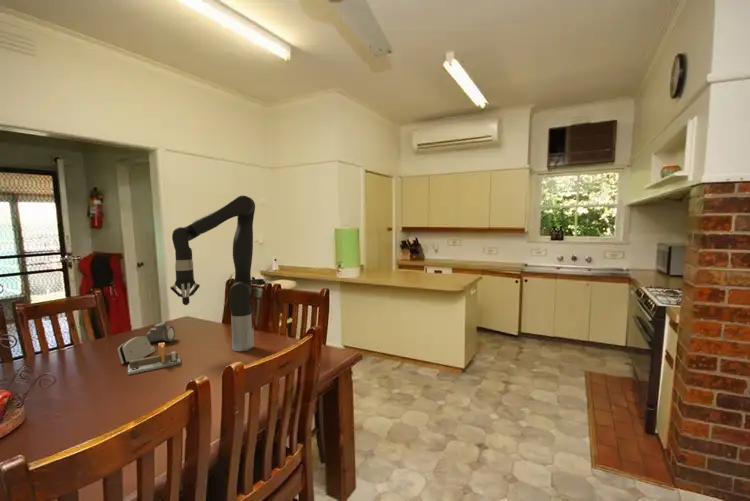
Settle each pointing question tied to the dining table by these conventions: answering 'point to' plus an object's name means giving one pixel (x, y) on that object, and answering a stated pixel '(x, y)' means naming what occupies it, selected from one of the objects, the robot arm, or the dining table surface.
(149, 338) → the pipe fitting
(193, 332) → the dining table surface
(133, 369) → the grey piece
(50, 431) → the dining table surface
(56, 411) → the dining table surface
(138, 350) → the hinge
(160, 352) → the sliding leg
